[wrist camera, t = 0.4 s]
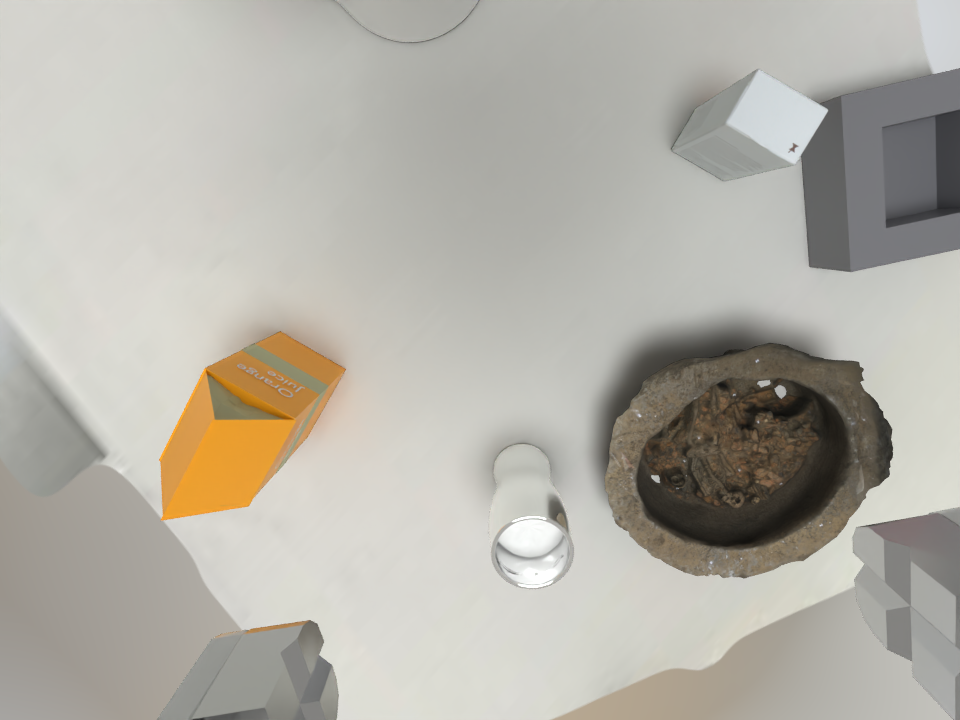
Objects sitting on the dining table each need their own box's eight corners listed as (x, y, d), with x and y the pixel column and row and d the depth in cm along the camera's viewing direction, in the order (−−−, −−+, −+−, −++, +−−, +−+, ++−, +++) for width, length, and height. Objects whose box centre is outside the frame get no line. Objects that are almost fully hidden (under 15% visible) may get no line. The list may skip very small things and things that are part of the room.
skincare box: (750, 138, 48) (833, 110, 37) (724, 182, 49) (796, 168, 38) (694, 105, 48) (759, 65, 36) (668, 150, 49) (723, 125, 37)
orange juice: (242, 401, 55) (107, 494, 36) (279, 330, 53) (158, 387, 34) (308, 438, 56) (212, 549, 37) (348, 369, 54) (268, 448, 35)
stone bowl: (811, 286, 51) (883, 306, 42) (839, 501, 59) (904, 557, 50) (563, 362, 53) (582, 397, 44) (620, 561, 60) (646, 625, 52)
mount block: (798, 112, 48) (841, 95, 42) (960, 74, 47) (1028, 52, 41) (809, 266, 51) (850, 271, 45) (962, 234, 50) (1024, 235, 44)
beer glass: (531, 427, 55) (546, 498, 41) (566, 478, 57) (593, 565, 42) (476, 460, 56) (471, 541, 42) (511, 510, 58) (518, 606, 43)
